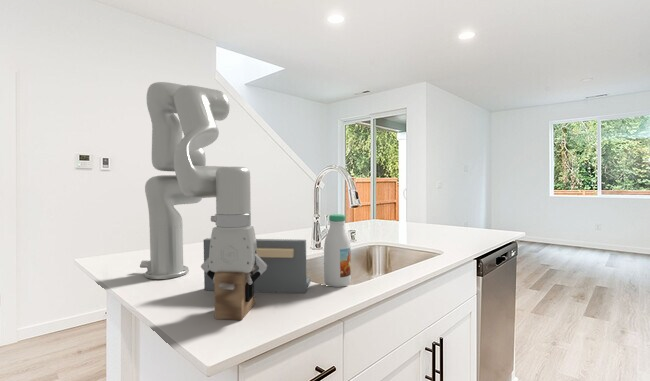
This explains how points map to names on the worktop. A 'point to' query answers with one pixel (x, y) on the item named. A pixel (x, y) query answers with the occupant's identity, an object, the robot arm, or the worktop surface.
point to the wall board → (275, 266)
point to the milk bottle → (337, 253)
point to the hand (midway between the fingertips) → (234, 298)
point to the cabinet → (231, 296)
